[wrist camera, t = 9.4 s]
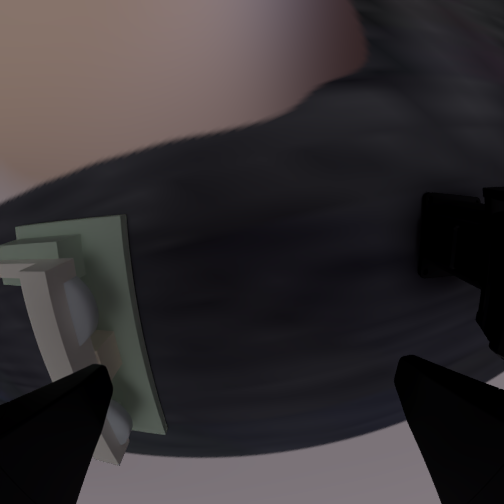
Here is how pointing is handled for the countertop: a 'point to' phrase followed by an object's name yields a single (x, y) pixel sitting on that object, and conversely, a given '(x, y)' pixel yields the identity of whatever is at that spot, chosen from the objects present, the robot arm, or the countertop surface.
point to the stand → (102, 303)
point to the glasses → (67, 334)
